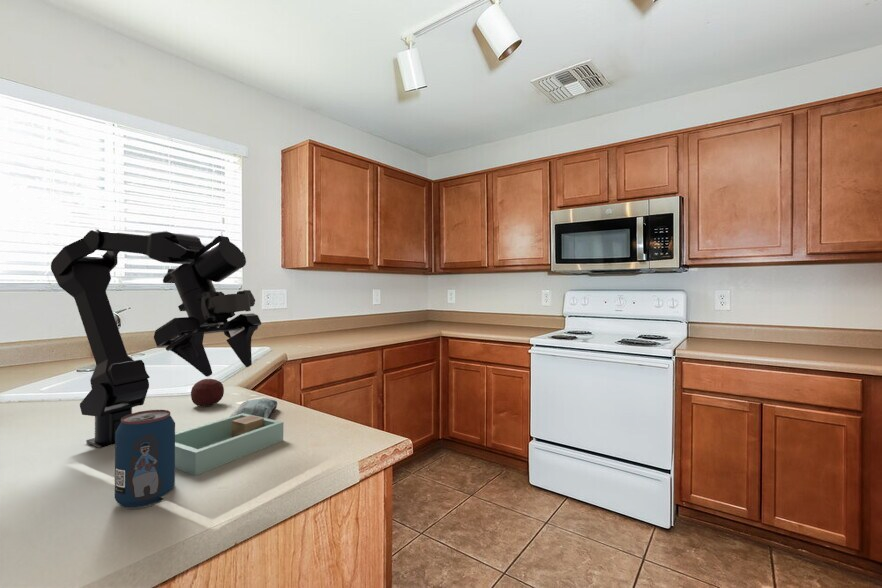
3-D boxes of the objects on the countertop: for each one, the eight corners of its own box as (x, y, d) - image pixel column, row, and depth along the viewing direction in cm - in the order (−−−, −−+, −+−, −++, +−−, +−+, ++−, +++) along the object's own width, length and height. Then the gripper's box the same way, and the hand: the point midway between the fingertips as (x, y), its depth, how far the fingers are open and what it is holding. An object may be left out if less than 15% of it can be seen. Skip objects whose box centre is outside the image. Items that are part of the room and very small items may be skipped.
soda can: (154, 483, 62) (155, 406, 62) (185, 492, 59) (186, 411, 59) (102, 505, 55) (103, 419, 55) (135, 516, 53) (136, 425, 53)
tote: (153, 465, 68) (153, 439, 68) (242, 434, 83) (242, 413, 83) (195, 481, 62) (195, 452, 62) (283, 445, 78) (283, 422, 78)
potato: (201, 401, 108) (202, 375, 108) (229, 402, 107) (230, 376, 107) (183, 409, 100) (183, 381, 100) (213, 410, 100) (213, 382, 100)
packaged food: (224, 431, 85) (225, 408, 85) (240, 415, 97) (240, 394, 97) (267, 430, 87) (268, 407, 87) (278, 413, 98) (278, 394, 98)
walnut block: (231, 441, 76) (231, 420, 76) (250, 435, 80) (250, 415, 80) (245, 445, 75) (245, 424, 75) (263, 438, 78) (263, 418, 78)
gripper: (184, 270, 63) (222, 359, 61) (265, 275, 81) (296, 345, 79) (136, 302, 65) (171, 389, 63) (225, 301, 83) (254, 368, 81)
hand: (230, 370), depth 72 cm, fingers open, 9 cm apart
